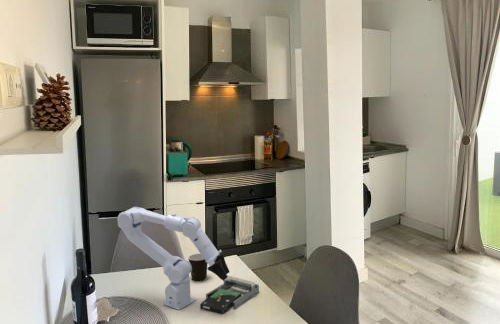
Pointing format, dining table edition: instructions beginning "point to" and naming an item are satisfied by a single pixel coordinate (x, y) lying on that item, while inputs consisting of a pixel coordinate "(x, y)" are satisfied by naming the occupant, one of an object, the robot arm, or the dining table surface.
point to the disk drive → (220, 301)
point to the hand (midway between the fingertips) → (226, 276)
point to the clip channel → (238, 283)
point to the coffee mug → (198, 267)
